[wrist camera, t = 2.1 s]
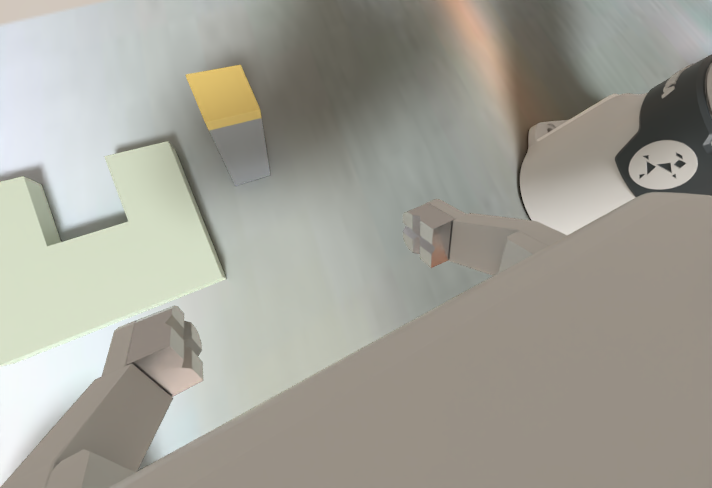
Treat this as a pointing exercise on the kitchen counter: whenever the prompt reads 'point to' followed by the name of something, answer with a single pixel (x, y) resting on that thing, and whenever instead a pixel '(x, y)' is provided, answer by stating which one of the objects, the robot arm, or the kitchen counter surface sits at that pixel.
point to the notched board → (99, 256)
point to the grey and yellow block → (232, 121)
